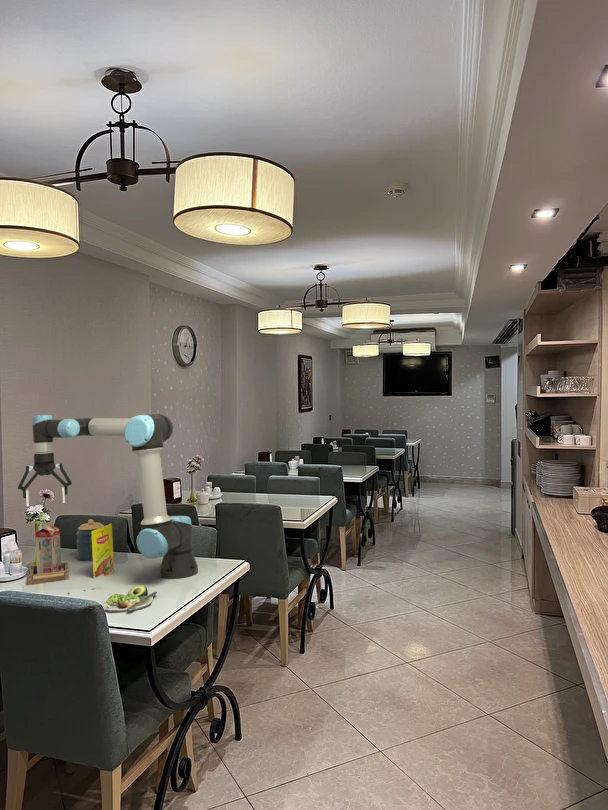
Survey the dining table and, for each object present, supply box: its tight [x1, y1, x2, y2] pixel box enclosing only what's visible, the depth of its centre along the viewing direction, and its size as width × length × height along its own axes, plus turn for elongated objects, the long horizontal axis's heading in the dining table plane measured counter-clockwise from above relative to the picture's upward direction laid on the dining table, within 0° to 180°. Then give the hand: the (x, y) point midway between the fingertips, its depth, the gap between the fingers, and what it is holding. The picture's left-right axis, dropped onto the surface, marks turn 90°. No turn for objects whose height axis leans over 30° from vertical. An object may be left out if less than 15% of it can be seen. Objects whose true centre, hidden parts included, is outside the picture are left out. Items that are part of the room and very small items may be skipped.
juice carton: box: [35, 521, 62, 574], centre depth 242 cm, size 7×7×22 cm
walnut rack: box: [27, 561, 70, 586], centre depth 238 cm, size 21×14×4 cm
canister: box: [75, 518, 105, 562], centre depth 271 cm, size 13×13×18 cm
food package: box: [91, 522, 115, 579], centre depth 239 cm, size 15×1×20 cm, turn 168°
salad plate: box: [102, 584, 158, 613], centre depth 202 cm, size 19×18×5 cm
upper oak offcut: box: [33, 570, 65, 580], centre depth 233 cm, size 5×11×2 cm, turn 108°
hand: (46, 504), depth 242 cm, fingers open, 13 cm apart
